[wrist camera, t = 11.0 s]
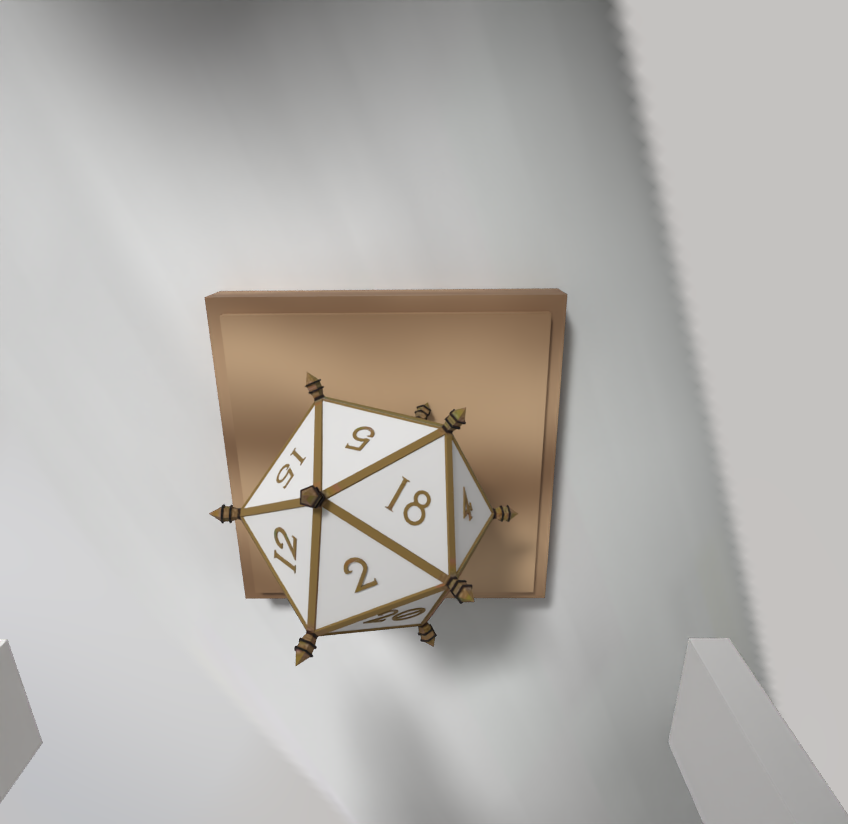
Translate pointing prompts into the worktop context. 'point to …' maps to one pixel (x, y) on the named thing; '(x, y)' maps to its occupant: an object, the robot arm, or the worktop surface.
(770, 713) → the robot arm
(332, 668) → the worktop surface
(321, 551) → the game die
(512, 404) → the plate
